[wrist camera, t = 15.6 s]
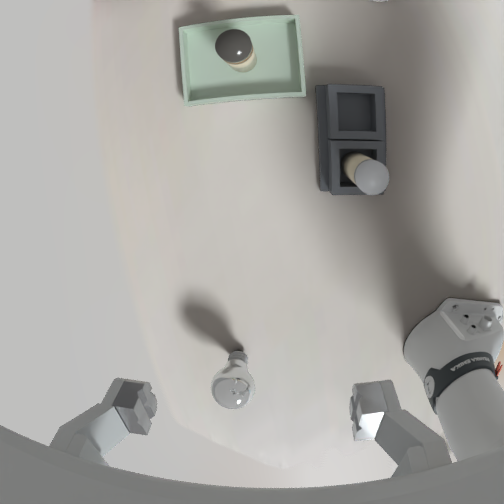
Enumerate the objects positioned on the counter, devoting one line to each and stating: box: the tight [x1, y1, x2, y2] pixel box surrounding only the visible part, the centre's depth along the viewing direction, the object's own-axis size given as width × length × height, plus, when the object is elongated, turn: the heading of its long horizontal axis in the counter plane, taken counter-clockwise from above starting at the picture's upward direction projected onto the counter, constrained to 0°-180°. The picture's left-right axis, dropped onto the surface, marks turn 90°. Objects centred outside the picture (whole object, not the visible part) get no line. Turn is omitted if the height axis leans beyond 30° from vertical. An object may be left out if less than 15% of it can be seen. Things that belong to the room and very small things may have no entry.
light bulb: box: [211, 351, 255, 409], centre depth 49 cm, size 7×7×12 cm
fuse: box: [341, 151, 389, 195], centre depth 35 cm, size 4×4×9 cm
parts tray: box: [179, 15, 306, 106], centre depth 35 cm, size 15×11×2 cm
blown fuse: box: [215, 29, 257, 73], centre depth 31 cm, size 4×4×9 cm
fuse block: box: [315, 84, 386, 195], centre depth 37 cm, size 9×14×4 cm, turn 4°
